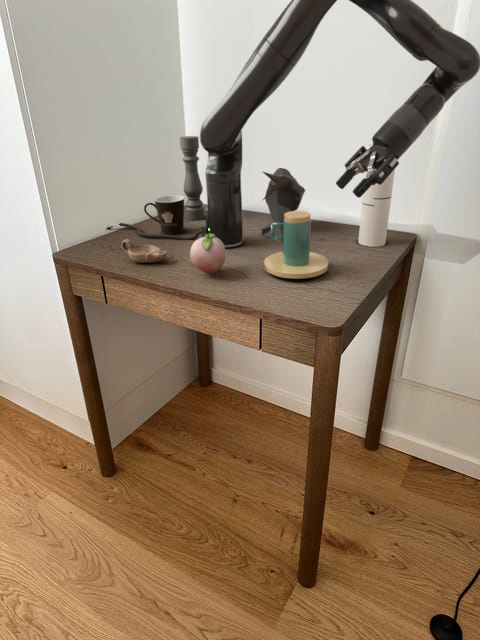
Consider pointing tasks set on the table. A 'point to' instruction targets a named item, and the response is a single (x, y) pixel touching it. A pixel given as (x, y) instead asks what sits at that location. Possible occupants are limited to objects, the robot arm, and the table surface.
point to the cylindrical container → (375, 212)
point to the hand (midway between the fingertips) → (346, 190)
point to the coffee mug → (169, 213)
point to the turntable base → (295, 279)
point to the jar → (295, 249)
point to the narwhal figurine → (281, 198)
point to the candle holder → (192, 178)
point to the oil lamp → (143, 252)
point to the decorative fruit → (208, 253)
